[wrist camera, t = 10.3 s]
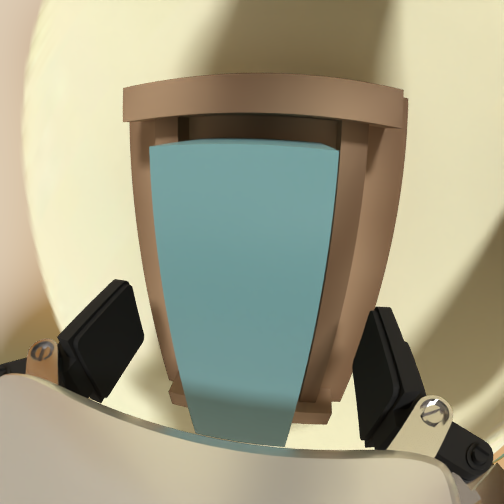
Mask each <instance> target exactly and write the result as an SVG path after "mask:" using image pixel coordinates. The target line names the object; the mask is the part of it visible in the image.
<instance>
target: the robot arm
mask: <svg viewBox="0 0 504 504" xmlns="http://www.w3.org/2000/svg"><path fill="white" fill-rule="evenodd" d="M57 338H58V339H59V344H57V343H56V342H55V341H54V340H52V339H42V340H39V341H37V342H35V343H34V344H33V345H32V346H31V347H30V349H29V350H28V354H27V358H23V359H20V360H16V361H12V362H8V363H4V364H1V365H0V504H504V470H503V469H502V468H501V467H500V465H499V464H498V463H496V464H495V465H494V464H493V463H492V461H493V452H492V448H491V447H490V445H489V444H488V443H487V442H485V441H484V440H482V439H481V438H479V437H477V436H476V435H474V434H472V433H471V432H469V431H467V430H466V429H464V428H462V427H461V426H459V425H458V424H456V423H454V422H453V421H452V420H453V410H452V408H451V405H450V404H449V403H448V402H447V401H446V400H445V399H443V398H442V397H439V396H436V395H429V396H426V393H425V389H424V386H423V383H422V380H421V377H420V374H419V371H418V369H417V366H416V363H415V360H414V357H413V355H412V352H411V349H410V347H409V345H408V343H407V342H404V339H403V337H402V334H401V332H400V329H399V327H398V324H397V322H396V319H395V317H394V314H393V312H392V309H391V308H390V307H375V309H374V311H373V310H371V311H370V312H369V315H368V318H367V321H366V324H365V328H364V331H363V334H362V337H361V340H360V343H359V346H358V349H357V351H356V354H355V357H354V360H353V364H352V370H353V378H354V385H355V393H356V402H357V411H358V420H359V431H360V439H361V440H365V448H367V447H375V450H308V449H290V448H277V447H268V446H259V445H251V444H244V443H238V442H232V441H226V440H220V439H215V438H210V437H205V436H201V435H196V434H192V433H188V432H184V431H180V430H176V429H173V428H169V427H165V426H162V425H159V424H155V423H152V422H149V421H146V420H143V419H140V418H137V417H134V416H131V415H128V414H125V413H122V412H120V411H117V410H114V409H112V408H109V407H107V406H104V405H102V404H99V403H102V401H103V399H104V398H107V397H108V396H109V394H110V393H111V391H112V390H113V388H114V386H115V385H116V383H117V382H118V380H119V378H120V377H121V375H122V374H123V372H124V371H125V369H126V367H127V366H128V364H129V363H130V361H131V360H132V358H133V357H134V355H135V353H136V352H137V350H138V349H139V347H140V346H141V344H142V343H143V340H144V333H143V329H142V325H141V321H140V317H139V313H138V309H137V305H136V301H135V297H134V292H133V288H132V286H131V285H130V284H129V283H128V282H127V281H124V280H117V279H115V280H113V281H112V282H111V283H110V284H109V285H108V286H107V287H106V288H105V289H104V290H103V291H102V292H101V293H100V294H99V295H98V296H97V297H96V298H95V299H94V300H93V301H91V302H90V303H89V304H88V305H87V306H86V307H85V309H84V310H83V311H82V312H81V313H80V314H79V315H78V316H77V317H76V318H75V319H74V320H73V321H72V322H71V323H70V324H69V325H68V326H67V327H66V328H65V329H64V330H63V331H62V332H61V333H60V334H59V336H58V337H57ZM89 397H90V398H91V399H92V400H95V401H97V402H99V403H97V402H95V401H92V400H90V399H88V398H89Z"/></svg>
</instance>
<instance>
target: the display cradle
mask: <svg viewBox="0 0 504 504" xmlns="http://www.w3.org/2000/svg"><path fill="white" fill-rule="evenodd" d="M407 119H408V98H403V90H401V89H397V88H393V87H388V86H384V85H379V84H373V83H368V82H362V81H356V80H349V79H342V78H334V77H326V76H315V75H303V74H284V73H235V74H217V75H204V76H194V77H185V78H177V79H170V80H163V81H157V82H151V83H146V84H140V85H135V86H131V87H126V88H123V122H130V152H131V169H132V183H133V195H134V205H135V214H136V222H137V230H138V238H139V245H140V251H141V258H142V264H143V270H144V276H145V281H146V286H147V292H148V297H149V302H150V306H151V311H152V316H153V320H154V324H155V329H156V333H157V337H158V341H159V345H160V349H161V353H162V356H163V360H164V364H165V367H166V371H167V374H168V378H169V380H171V381H173V383H172V385H171V388H170V390H169V395H170V398H171V401H172V403H173V404H176V405H180V406H184V407H188V405H187V401H186V397H185V394H184V390H183V386H182V382H181V378H180V374H179V369H178V365H177V361H176V356H175V352H174V347H173V342H172V338H171V333H170V328H169V322H168V317H167V311H166V306H165V300H164V294H163V288H162V281H161V274H160V267H159V260H158V252H157V244H156V235H155V226H154V216H153V204H152V191H151V175H150V153H149V147H150V146H156V145H162V144H168V143H175V142H182V141H189V140H197V139H205V138H258V139H280V140H296V141H308V142H319V143H322V144H325V145H327V146H329V147H331V148H334V149H336V150H338V151H339V159H338V171H337V182H336V192H335V201H334V210H333V218H332V226H331V234H330V241H329V248H328V255H327V262H326V268H325V274H324V280H323V286H322V292H321V298H320V303H319V308H318V314H317V319H316V324H315V329H314V334H313V338H312V343H311V348H310V352H309V357H308V361H307V365H306V370H305V374H304V378H303V382H302V386H301V390H300V394H299V398H298V401H297V405H296V409H295V413H294V416H293V420H292V423H301V424H327V423H328V421H329V418H330V416H331V414H332V406H331V402H340V401H341V399H342V396H343V394H344V392H345V389H346V387H347V384H348V382H349V380H350V377H351V375H352V372H353V370H352V364H353V360H354V357H355V354H356V351H357V349H358V346H359V343H360V340H361V337H362V334H363V331H364V328H365V324H366V321H367V318H368V315H369V312H370V311H371V310H373V311H374V309H375V305H376V302H377V298H378V295H379V291H380V288H381V284H382V280H383V276H384V273H385V269H386V264H387V260H388V256H389V252H390V247H391V242H392V238H393V233H394V227H395V222H396V217H397V211H398V205H399V199H400V192H401V185H402V177H403V169H404V160H405V149H406V136H407Z"/></svg>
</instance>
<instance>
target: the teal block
mask: <svg viewBox="0 0 504 504" xmlns="http://www.w3.org/2000/svg"><path fill="white" fill-rule="evenodd" d="M149 153H150V175H151V191H152V204H153V216H154V226H155V235H156V244H157V252H158V260H159V267H160V274H161V281H162V288H163V294H164V300H165V306H166V311H167V317H168V322H169V328H170V333H171V338H172V342H173V347H174V352H175V356H176V361H177V365H178V369H179V374H180V378H181V382H182V386H183V390H184V394H185V397H186V401H187V405H188V409H189V412H190V416H191V419H192V423H193V426H194V429H195V433H197V434H201V435H206V436H211V437H216V438H221V439H226V440H232V441H238V442H245V443H252V444H260V445H269V446H279V447H285V444H286V440H287V437H288V434H289V430H290V427H291V423H292V420H293V416H294V413H295V409H296V405H297V401H298V398H299V394H300V390H301V386H302V382H303V378H304V374H305V370H306V365H307V361H308V357H309V352H310V348H311V343H312V338H313V334H314V329H315V324H316V319H317V314H318V308H319V303H320V298H321V292H322V286H323V280H324V274H325V268H326V262H327V255H328V248H329V241H330V234H331V226H332V218H333V210H334V201H335V192H336V182H337V171H338V159H339V151H338V150H336V149H334V148H331V147H329V146H327V145H325V144H322V143H319V142H308V141H296V140H280V139H258V138H205V139H197V140H189V141H182V142H175V143H168V144H162V145H156V146H150V147H149Z"/></svg>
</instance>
